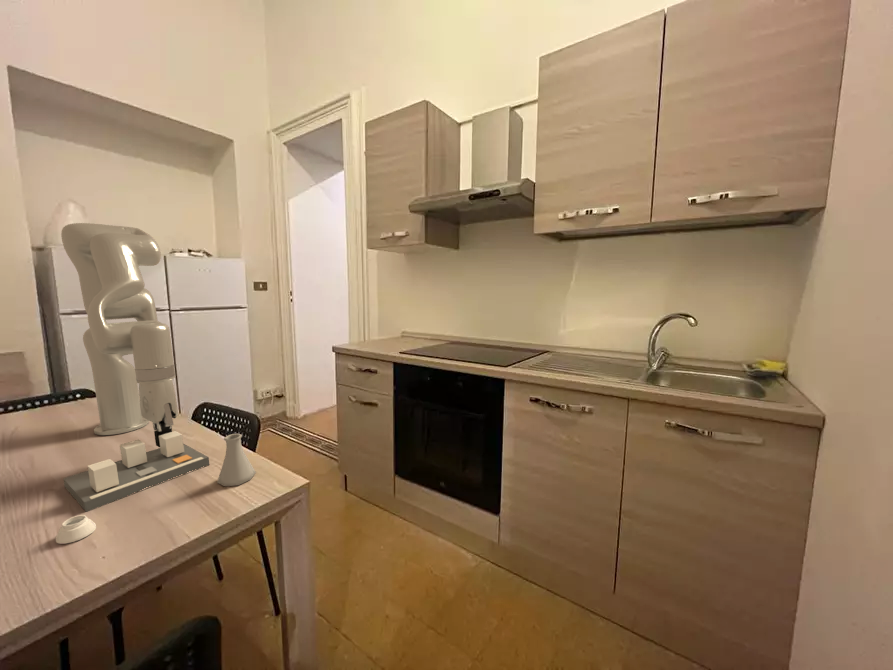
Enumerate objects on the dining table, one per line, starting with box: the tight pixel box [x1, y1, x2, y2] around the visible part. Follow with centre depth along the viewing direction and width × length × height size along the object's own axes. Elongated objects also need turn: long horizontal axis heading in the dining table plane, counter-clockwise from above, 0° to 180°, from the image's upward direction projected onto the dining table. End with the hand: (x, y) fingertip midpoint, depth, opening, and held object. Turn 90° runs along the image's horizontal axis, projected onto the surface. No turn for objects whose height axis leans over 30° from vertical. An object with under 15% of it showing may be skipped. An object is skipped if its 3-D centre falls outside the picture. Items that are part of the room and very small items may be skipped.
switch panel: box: [63, 443, 210, 512], centre depth 85 cm, size 16×22×2 cm
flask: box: [216, 433, 257, 487], centre depth 83 cm, size 7×7×10 cm
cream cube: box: [159, 430, 184, 457], centre depth 91 cm, size 4×4×4 cm
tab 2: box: [119, 439, 147, 468], centre depth 86 cm, size 4×4×4 cm
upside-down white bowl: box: [55, 514, 97, 545], centre depth 65 cm, size 5×3×5 cm
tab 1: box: [87, 458, 119, 492], centre depth 76 cm, size 4×4×4 cm
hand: (164, 444), depth 94 cm, fingers closed
